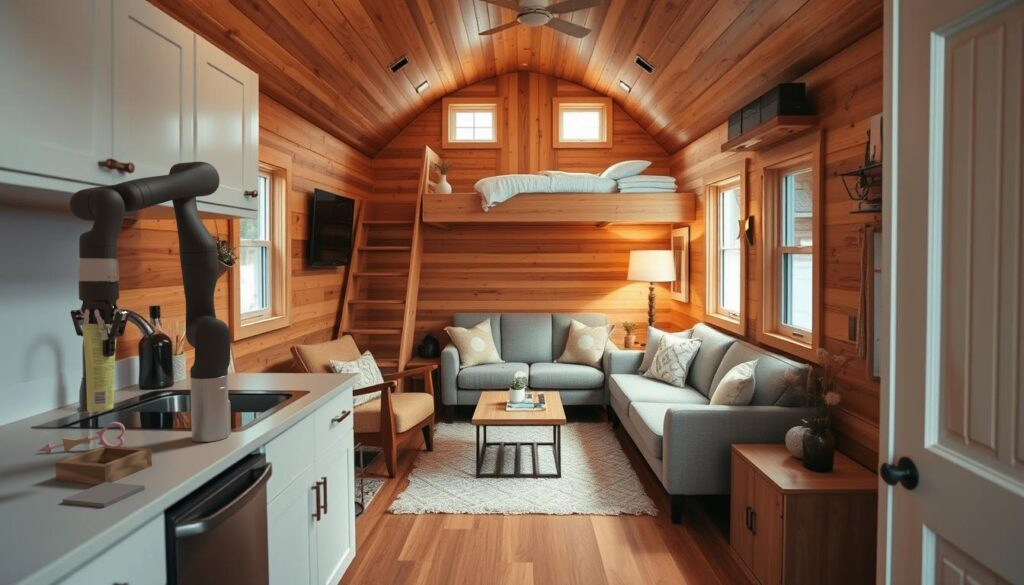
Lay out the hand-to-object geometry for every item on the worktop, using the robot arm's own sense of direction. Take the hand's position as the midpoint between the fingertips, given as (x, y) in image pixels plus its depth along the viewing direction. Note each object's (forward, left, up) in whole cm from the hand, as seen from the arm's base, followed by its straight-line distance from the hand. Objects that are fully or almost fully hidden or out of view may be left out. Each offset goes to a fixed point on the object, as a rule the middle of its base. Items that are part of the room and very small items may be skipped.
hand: (100, 355), depth 137 cm
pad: (+10, +10, -28) cm, 31 cm away
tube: (0, 0, -12) cm, 12 cm away
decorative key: (-16, -23, -28) cm, 39 cm away
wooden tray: (-2, -2, -28) cm, 28 cm away
